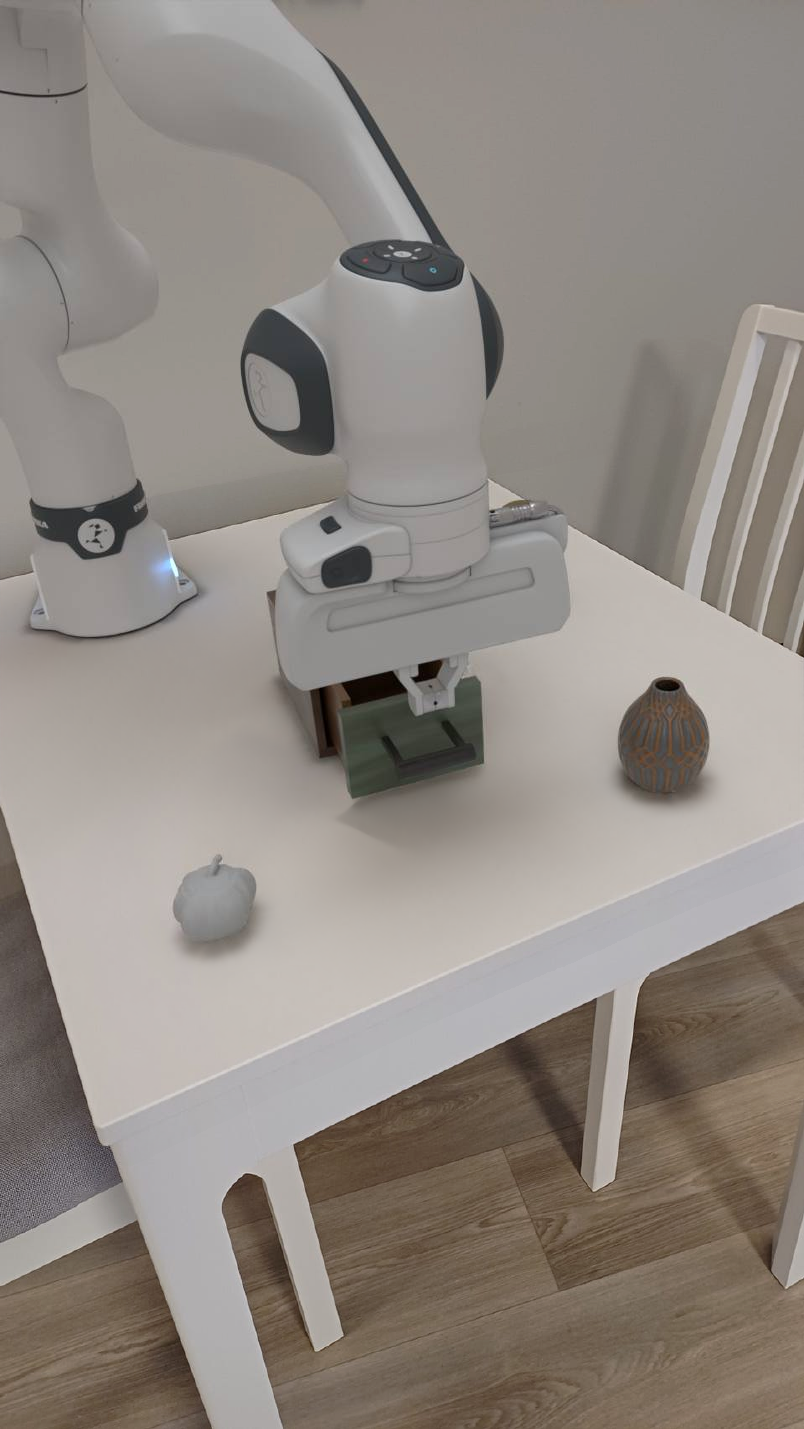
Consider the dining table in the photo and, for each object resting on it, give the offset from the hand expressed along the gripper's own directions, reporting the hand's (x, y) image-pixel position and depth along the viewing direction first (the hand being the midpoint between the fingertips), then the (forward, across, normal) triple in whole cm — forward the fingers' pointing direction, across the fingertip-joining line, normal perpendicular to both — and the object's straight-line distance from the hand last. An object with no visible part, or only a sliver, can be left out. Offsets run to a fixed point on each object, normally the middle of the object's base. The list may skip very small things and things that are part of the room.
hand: (431, 707), depth 71 cm
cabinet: (+11, 0, -20) cm, 23 cm away
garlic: (+11, +18, +4) cm, 21 cm away
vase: (+11, -18, +2) cm, 21 cm away
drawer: (+10, 0, -9) cm, 13 cm away
